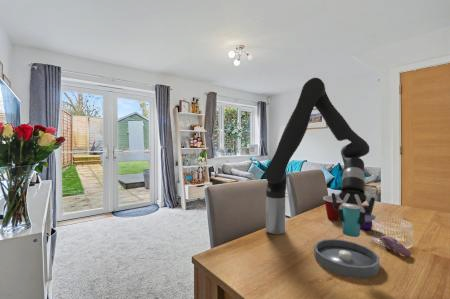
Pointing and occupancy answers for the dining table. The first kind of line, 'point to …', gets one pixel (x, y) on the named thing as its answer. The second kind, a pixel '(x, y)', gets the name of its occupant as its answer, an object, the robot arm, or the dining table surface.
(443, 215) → the dining table surface
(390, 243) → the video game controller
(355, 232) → the bead jar
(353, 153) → the robot arm
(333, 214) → the plastic cup
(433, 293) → the dining table surface
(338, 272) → the groove tray
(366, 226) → the potion bottle
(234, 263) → the dining table surface
